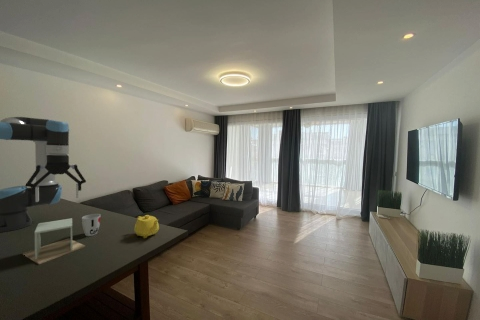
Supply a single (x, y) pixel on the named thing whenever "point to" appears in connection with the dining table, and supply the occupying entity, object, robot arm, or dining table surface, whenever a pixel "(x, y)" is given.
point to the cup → (91, 224)
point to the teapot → (146, 226)
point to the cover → (50, 227)
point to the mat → (54, 250)
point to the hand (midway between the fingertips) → (58, 199)
